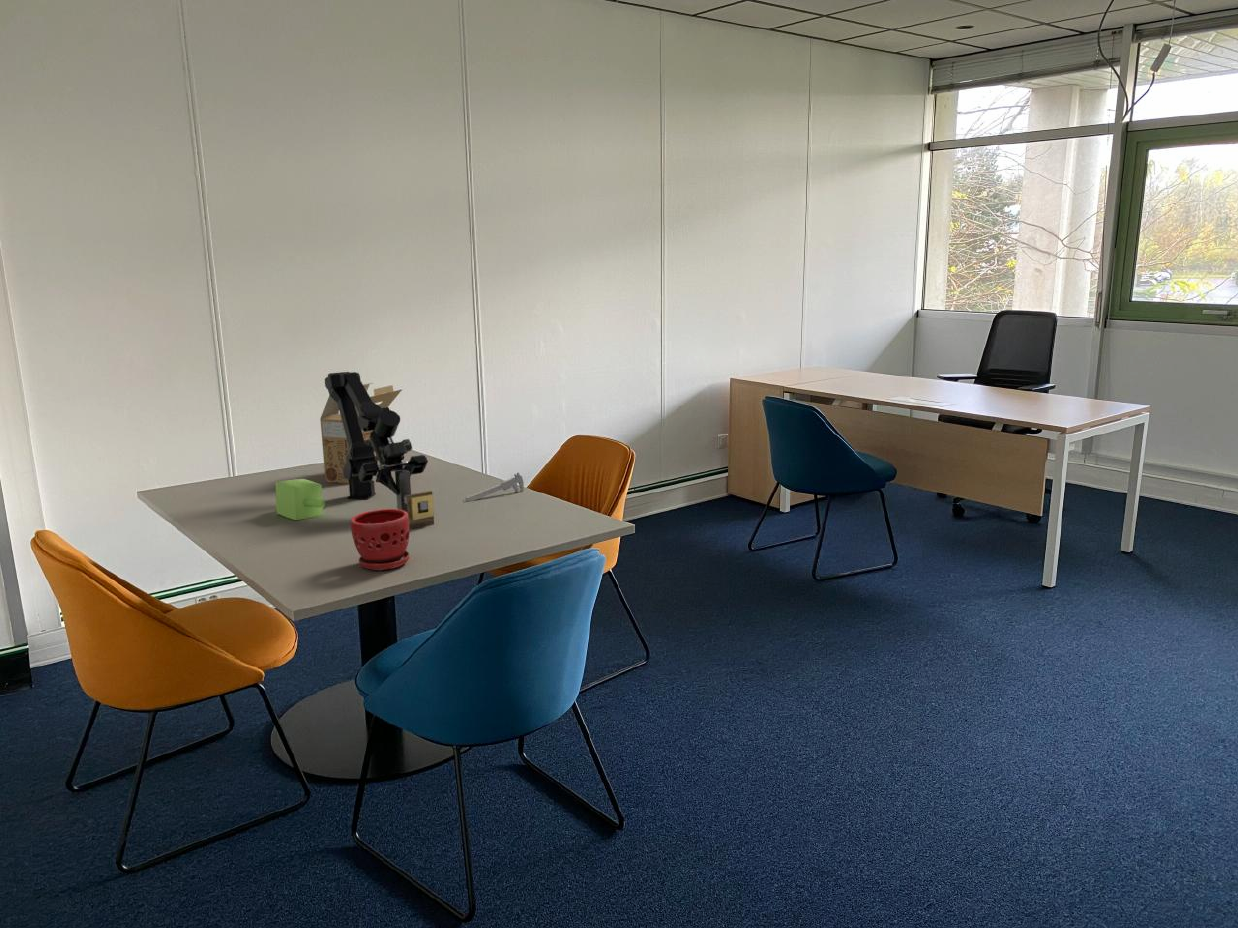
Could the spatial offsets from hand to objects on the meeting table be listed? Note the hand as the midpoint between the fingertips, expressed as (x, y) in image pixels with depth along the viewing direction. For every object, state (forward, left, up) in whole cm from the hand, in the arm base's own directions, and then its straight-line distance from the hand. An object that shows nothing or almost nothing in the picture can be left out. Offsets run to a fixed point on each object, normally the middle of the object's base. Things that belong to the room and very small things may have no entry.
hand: (403, 493), depth 255 cm
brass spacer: (+8, -8, -5) cm, 12 cm away
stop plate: (+6, -6, -7) cm, 11 cm away
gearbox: (-30, +1, -7) cm, 31 cm away
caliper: (+18, +26, -8) cm, 32 cm away
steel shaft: (+4, -4, -7) cm, 9 cm away
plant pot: (+9, -39, -7) cm, 41 cm away
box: (-32, +48, -7) cm, 58 cm away
